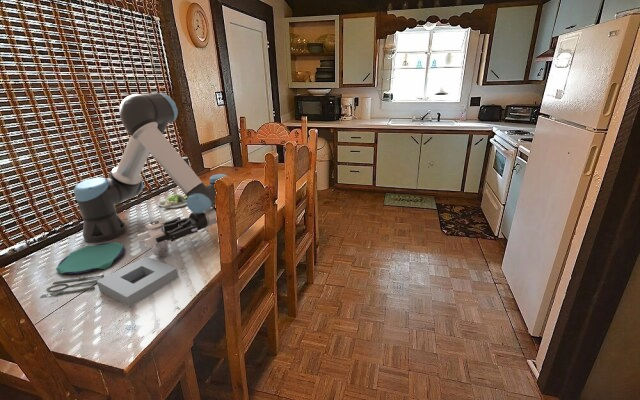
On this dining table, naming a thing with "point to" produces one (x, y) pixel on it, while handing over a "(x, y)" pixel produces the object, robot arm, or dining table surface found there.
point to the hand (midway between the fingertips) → (142, 241)
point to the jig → (137, 280)
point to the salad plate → (174, 201)
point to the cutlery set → (87, 264)
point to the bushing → (155, 229)
